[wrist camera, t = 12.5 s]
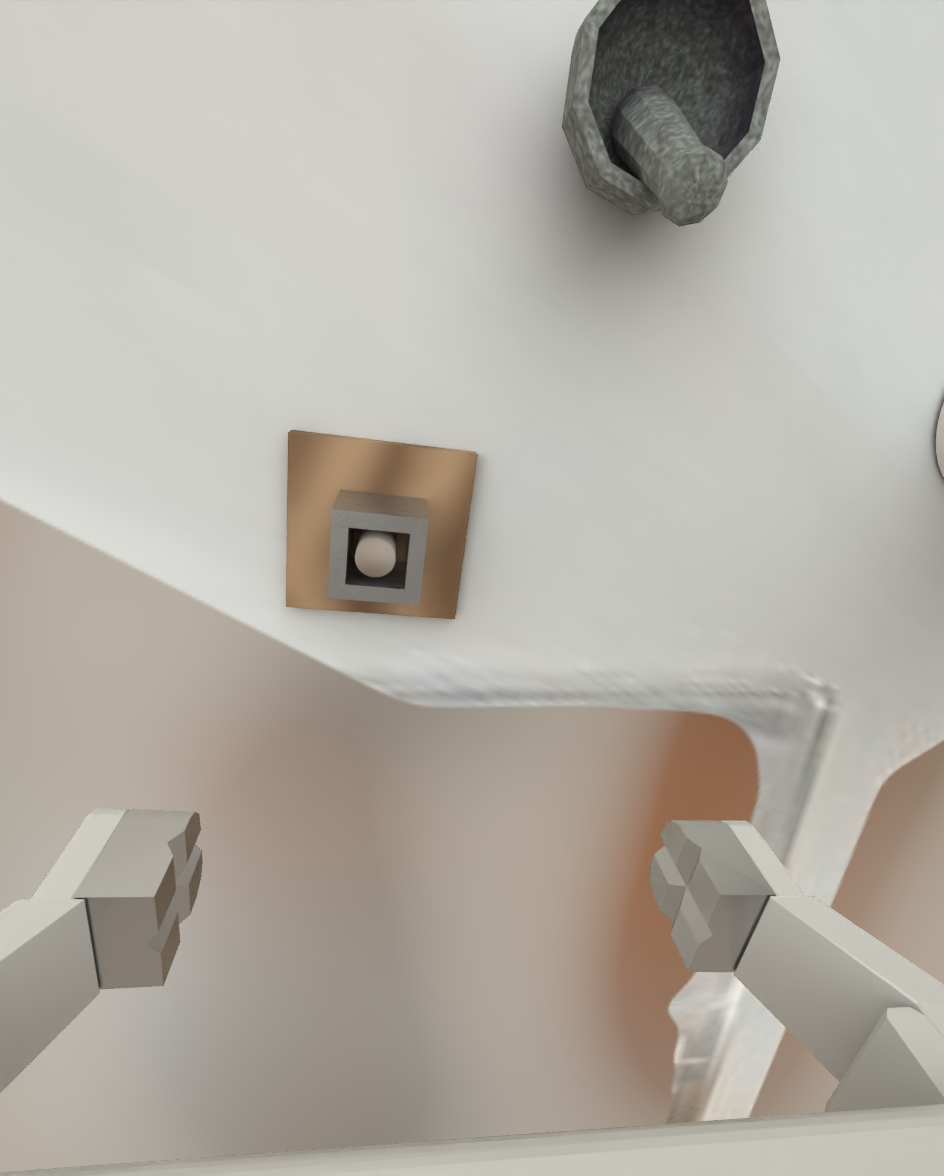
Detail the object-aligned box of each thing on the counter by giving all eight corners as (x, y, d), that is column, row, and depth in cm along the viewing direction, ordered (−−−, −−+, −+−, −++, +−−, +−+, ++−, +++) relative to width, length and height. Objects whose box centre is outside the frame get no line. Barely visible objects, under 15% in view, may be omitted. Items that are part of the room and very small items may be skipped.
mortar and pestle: (558, 3, 30) (649, -199, 19) (722, 38, 31) (899, -132, 20) (527, 249, 34) (587, 202, 23) (673, 270, 35) (796, 235, 24)
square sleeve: (425, 498, 38) (429, 519, 33) (417, 575, 40) (419, 605, 35) (340, 489, 37) (331, 509, 32) (336, 568, 39) (327, 598, 34)
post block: (475, 452, 38) (487, 470, 33) (453, 612, 43) (461, 652, 37) (291, 429, 36) (271, 445, 31) (289, 599, 41) (270, 640, 35)
